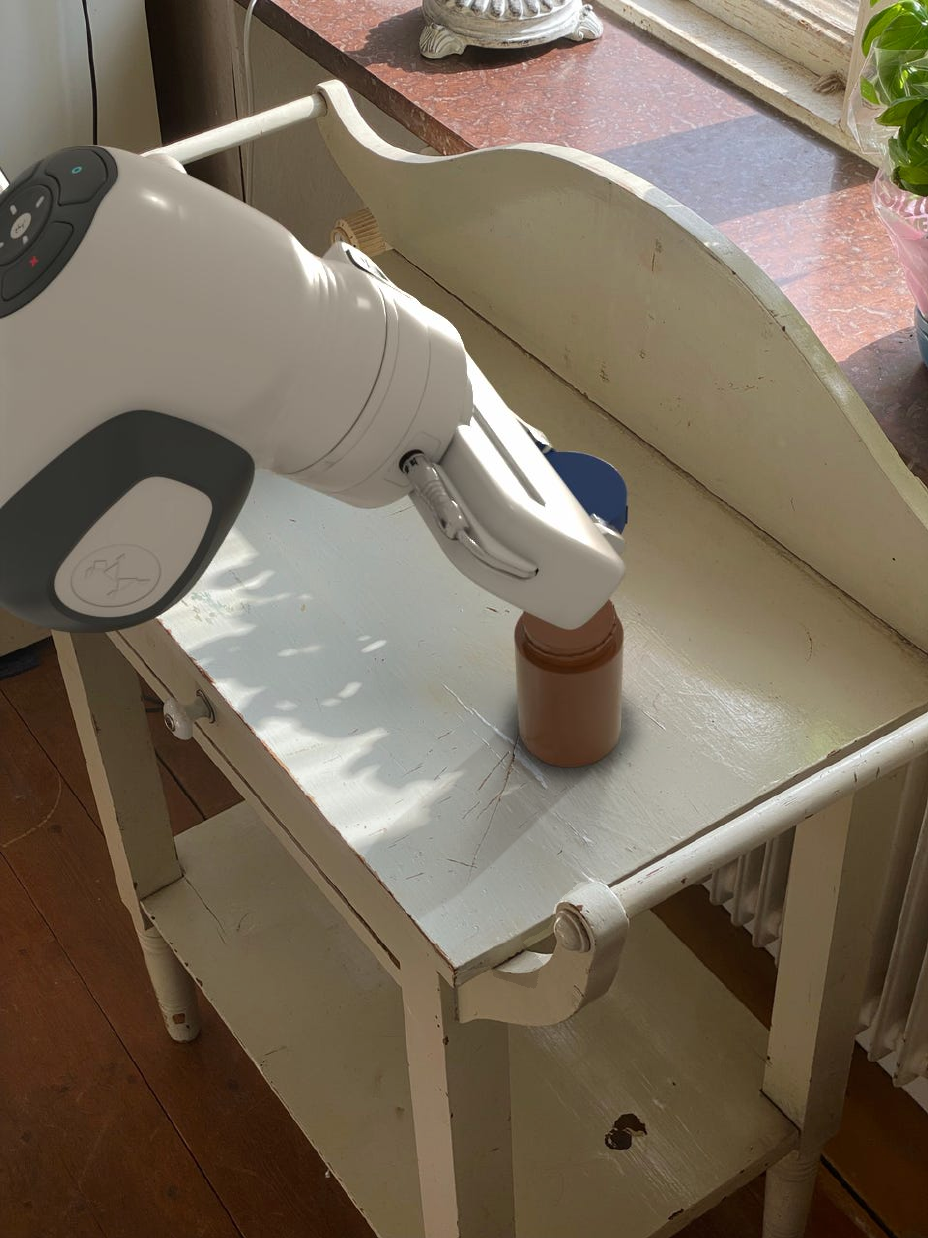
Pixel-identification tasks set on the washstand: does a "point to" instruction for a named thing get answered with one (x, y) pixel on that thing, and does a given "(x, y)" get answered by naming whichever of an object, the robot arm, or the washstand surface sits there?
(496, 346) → the washstand surface
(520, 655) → the jar
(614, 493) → the jar lid
